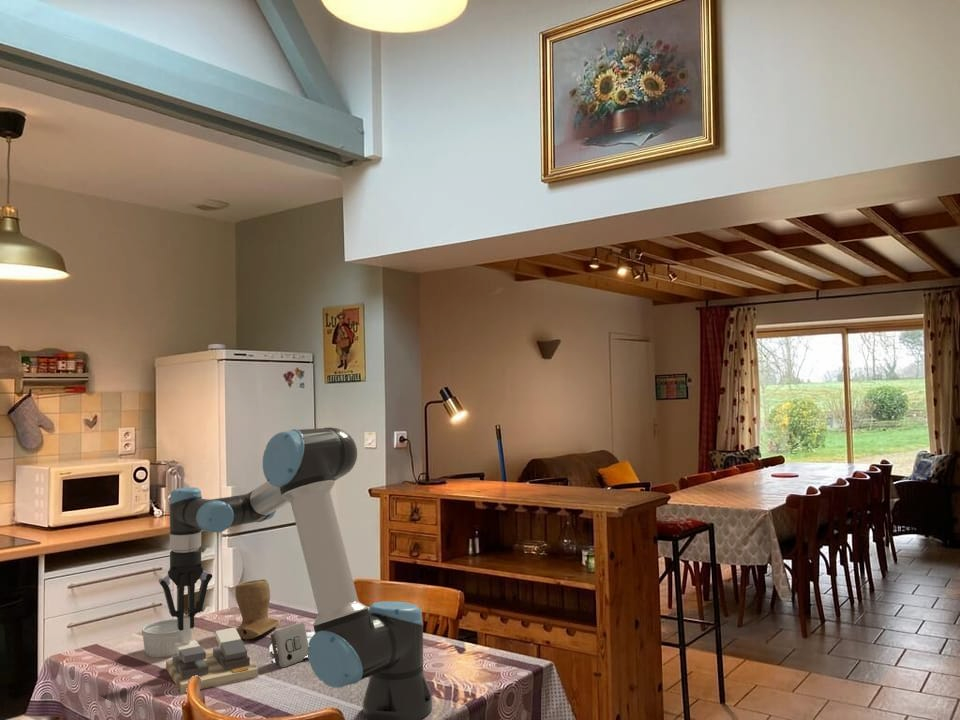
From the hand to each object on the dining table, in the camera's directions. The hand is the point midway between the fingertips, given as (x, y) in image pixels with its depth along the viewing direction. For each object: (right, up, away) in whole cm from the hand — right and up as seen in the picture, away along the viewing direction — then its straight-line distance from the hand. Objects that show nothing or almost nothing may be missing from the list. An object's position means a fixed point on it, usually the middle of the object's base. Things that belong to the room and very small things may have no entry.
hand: (185, 641), depth 198 cm
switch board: (+7, -7, -2) cm, 10 cm away
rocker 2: (+11, -2, +1) cm, 11 cm away
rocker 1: (+3, -2, -4) cm, 5 cm away
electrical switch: (+25, -7, +5) cm, 27 cm away
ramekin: (-11, -8, +16) cm, 21 cm away
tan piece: (+9, -8, +30) cm, 32 cm away
